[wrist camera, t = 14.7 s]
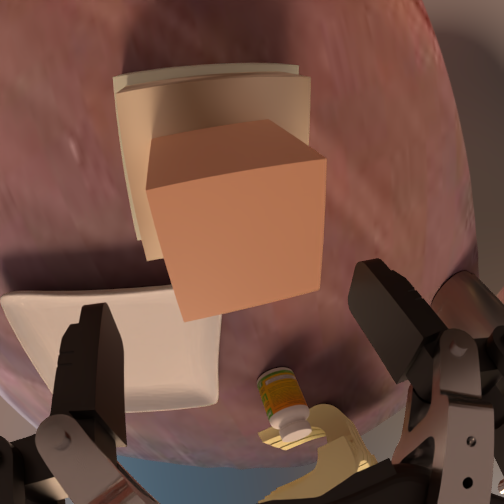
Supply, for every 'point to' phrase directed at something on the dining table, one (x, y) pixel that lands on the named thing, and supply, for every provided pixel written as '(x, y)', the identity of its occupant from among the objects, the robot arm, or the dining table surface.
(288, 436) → the supplement bottle
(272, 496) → the slatted curved stool
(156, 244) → the top block
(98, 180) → the dining table surface
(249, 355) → the dining table surface
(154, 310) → the salad plate
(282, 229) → the cube
